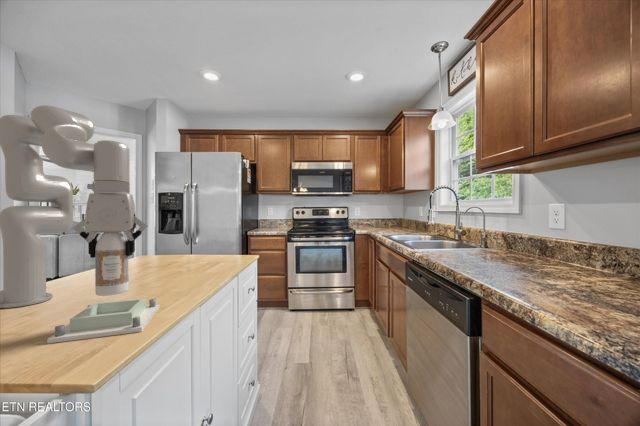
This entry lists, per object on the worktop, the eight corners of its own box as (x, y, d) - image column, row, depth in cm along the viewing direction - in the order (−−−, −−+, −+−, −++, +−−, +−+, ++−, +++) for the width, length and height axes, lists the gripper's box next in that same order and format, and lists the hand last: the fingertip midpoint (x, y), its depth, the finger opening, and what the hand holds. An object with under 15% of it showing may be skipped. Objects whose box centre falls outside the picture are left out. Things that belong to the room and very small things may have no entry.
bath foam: (93, 298, 66) (93, 217, 66) (97, 291, 72) (97, 217, 72) (128, 293, 70) (127, 216, 70) (129, 287, 76) (128, 216, 76)
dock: (47, 343, 60) (47, 325, 60) (87, 314, 77) (87, 300, 77) (141, 331, 65) (141, 315, 65) (159, 307, 82) (159, 294, 82)
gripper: (62, 186, 65) (62, 260, 65) (146, 188, 70) (146, 256, 70) (79, 189, 72) (79, 256, 72) (153, 190, 78) (153, 252, 77)
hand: (112, 255), depth 71 cm, fingers closed on bath foam, 7 cm apart
